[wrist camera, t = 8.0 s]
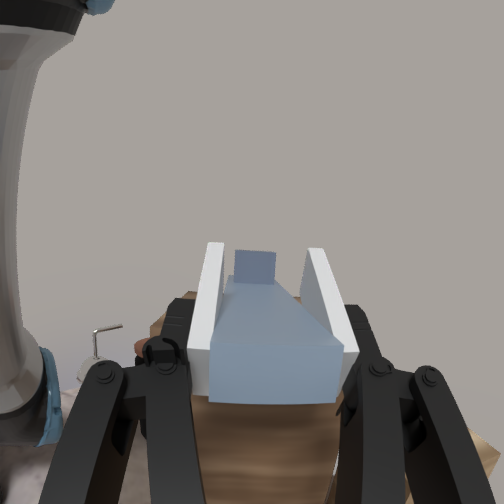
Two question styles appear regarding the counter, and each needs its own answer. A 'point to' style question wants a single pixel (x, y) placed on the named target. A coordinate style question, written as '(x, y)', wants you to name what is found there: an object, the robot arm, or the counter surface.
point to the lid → (269, 342)
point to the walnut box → (264, 447)
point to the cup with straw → (95, 358)
